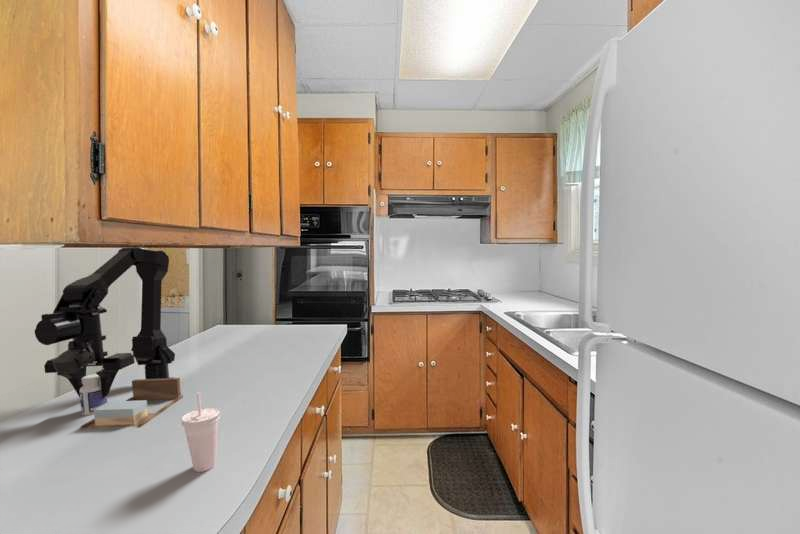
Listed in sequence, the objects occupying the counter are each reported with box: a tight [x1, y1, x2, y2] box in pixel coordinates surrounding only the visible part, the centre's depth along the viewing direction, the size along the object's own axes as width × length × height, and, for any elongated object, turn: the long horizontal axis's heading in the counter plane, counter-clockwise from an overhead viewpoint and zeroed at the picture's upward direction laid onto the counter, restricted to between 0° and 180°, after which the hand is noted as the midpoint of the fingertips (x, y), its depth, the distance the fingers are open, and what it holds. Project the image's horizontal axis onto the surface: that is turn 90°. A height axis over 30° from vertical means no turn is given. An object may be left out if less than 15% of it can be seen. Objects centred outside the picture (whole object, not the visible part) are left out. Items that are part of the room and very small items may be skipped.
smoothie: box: [181, 391, 221, 473], centre depth 77 cm, size 6×6×14 cm
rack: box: [80, 377, 184, 430], centre depth 103 cm, size 18×14×6 cm
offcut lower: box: [94, 407, 149, 426], centre depth 98 cm, size 5×9×2 cm, turn 88°
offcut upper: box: [93, 399, 148, 418], centre depth 98 cm, size 5×9×2 cm, turn 88°
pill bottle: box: [79, 373, 108, 416], centre depth 105 cm, size 5×5×9 cm
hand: (93, 396), depth 105 cm, fingers open, 6 cm apart
